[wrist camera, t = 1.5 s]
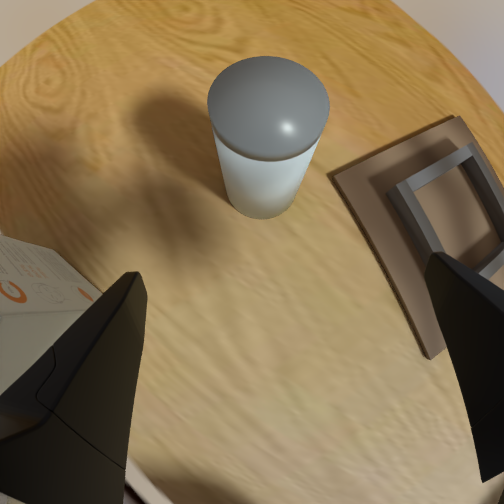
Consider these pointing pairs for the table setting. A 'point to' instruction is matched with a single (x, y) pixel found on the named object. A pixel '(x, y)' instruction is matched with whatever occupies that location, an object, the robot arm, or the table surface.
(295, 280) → the table surface
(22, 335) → the small box
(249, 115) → the grey cylinder
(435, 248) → the jig board
